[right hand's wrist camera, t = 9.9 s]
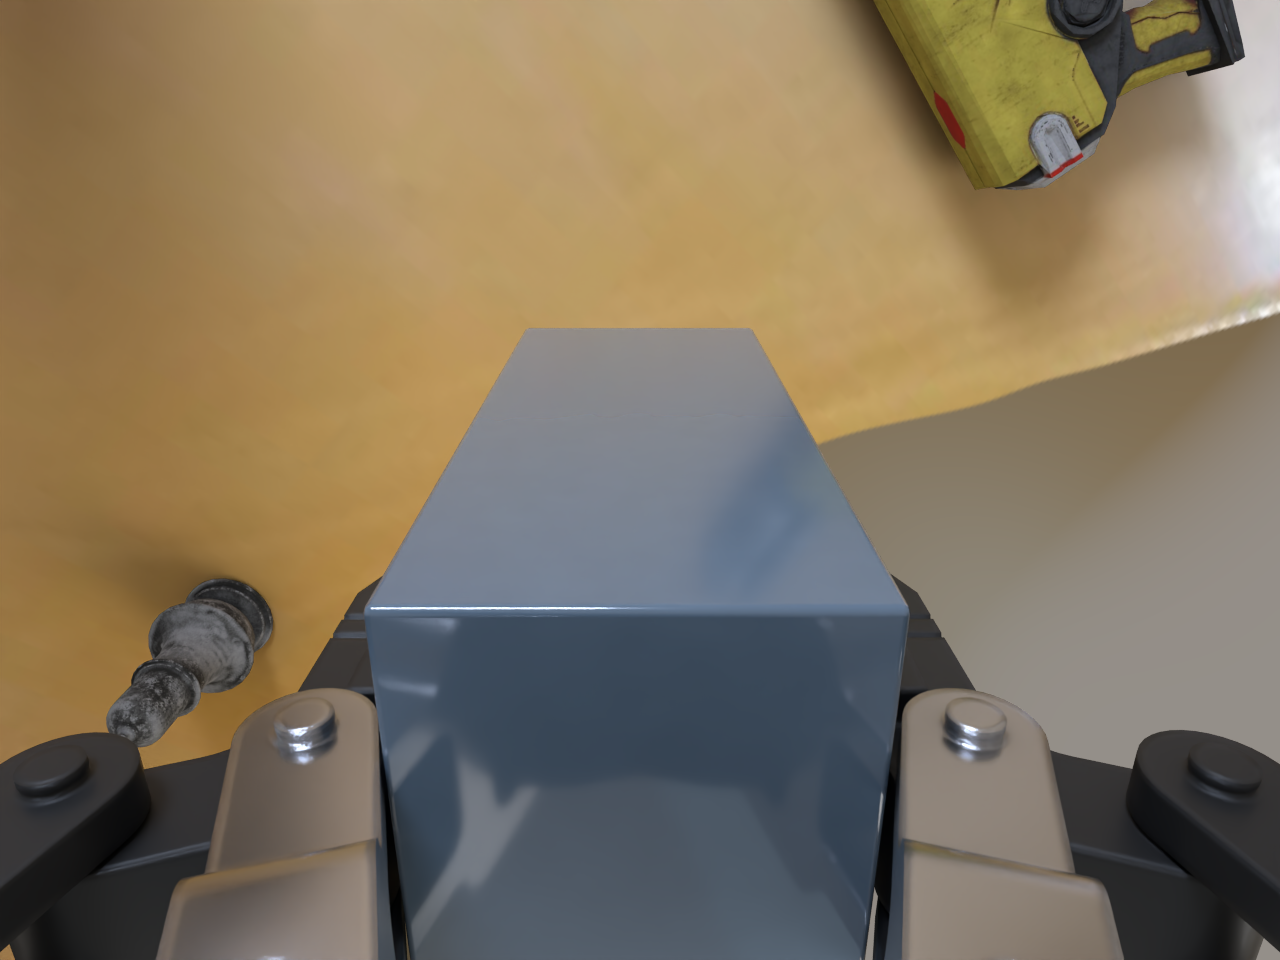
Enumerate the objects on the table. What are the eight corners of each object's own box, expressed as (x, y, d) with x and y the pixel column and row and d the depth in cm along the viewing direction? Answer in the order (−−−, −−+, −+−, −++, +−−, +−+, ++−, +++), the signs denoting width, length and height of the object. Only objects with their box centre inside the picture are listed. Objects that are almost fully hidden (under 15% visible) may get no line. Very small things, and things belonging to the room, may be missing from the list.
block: (537, 581, 18) (422, 1079, 9) (524, 327, 16) (359, 607, 7) (741, 581, 18) (852, 1079, 9) (753, 327, 16) (914, 608, 7)
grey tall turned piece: (298, 621, 53) (203, 749, 42) (236, 676, 54) (129, 814, 43) (220, 555, 51) (100, 671, 40) (160, 613, 53) (27, 740, 41)
